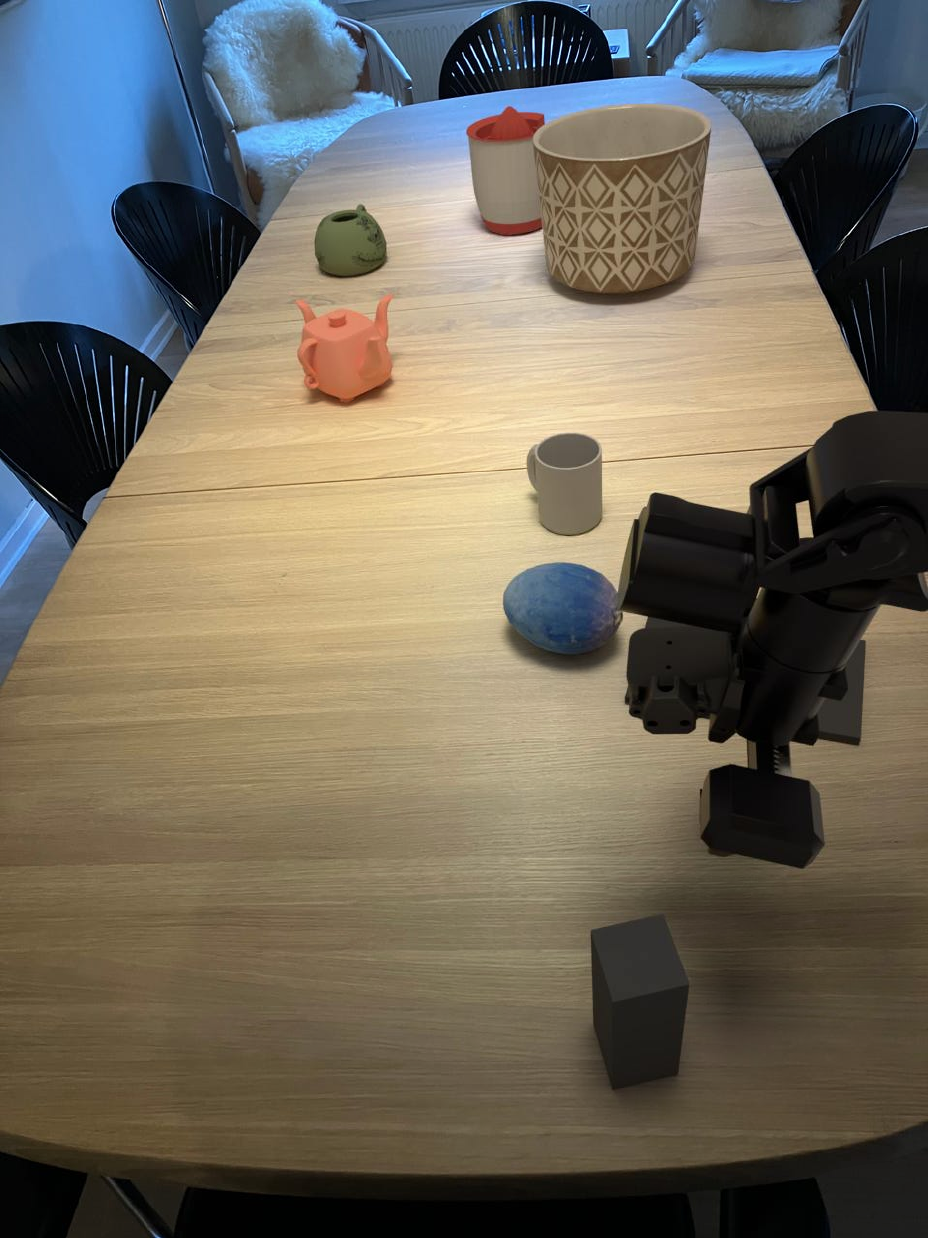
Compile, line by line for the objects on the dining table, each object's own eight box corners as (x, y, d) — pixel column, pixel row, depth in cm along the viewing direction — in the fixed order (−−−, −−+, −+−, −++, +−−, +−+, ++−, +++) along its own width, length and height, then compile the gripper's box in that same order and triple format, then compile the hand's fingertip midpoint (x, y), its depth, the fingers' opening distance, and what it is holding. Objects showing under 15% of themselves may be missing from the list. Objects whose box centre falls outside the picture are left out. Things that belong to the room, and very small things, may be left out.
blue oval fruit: (646, 595, 80) (490, 564, 86) (634, 686, 83) (484, 650, 89) (673, 570, 87) (527, 543, 93) (661, 654, 90) (521, 623, 96)
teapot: (311, 364, 140) (295, 294, 132) (404, 358, 138) (392, 287, 131) (293, 414, 129) (273, 341, 122) (393, 408, 128) (379, 334, 120)
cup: (572, 544, 102) (569, 477, 96) (509, 509, 108) (503, 444, 102) (615, 514, 105) (615, 447, 99) (552, 482, 111) (549, 417, 105)
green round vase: (376, 280, 160) (367, 229, 154) (307, 280, 164) (296, 230, 158) (403, 243, 171) (396, 194, 165) (338, 243, 175) (329, 196, 169)
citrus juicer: (580, 227, 168) (578, 105, 154) (489, 247, 165) (478, 126, 152) (550, 200, 179) (546, 85, 165) (465, 219, 177) (453, 103, 163)
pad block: (655, 1008, 64) (662, 913, 55) (678, 1074, 61) (689, 984, 52) (592, 1023, 64) (590, 929, 55) (612, 1090, 60) (612, 1002, 52)
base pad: (864, 647, 86) (871, 620, 84) (858, 745, 78) (866, 718, 76) (649, 616, 92) (650, 589, 90) (624, 703, 84) (625, 677, 82)
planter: (645, 231, 163) (648, 92, 148) (734, 280, 145) (749, 128, 130) (513, 269, 157) (503, 129, 142) (589, 326, 139) (587, 173, 124)
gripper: (660, 504, 58) (607, 668, 69) (646, 734, 45) (583, 892, 56) (838, 539, 57) (756, 699, 68) (877, 784, 44) (767, 933, 55)
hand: (715, 794), depth 62 cm, fingers open, 9 cm apart
